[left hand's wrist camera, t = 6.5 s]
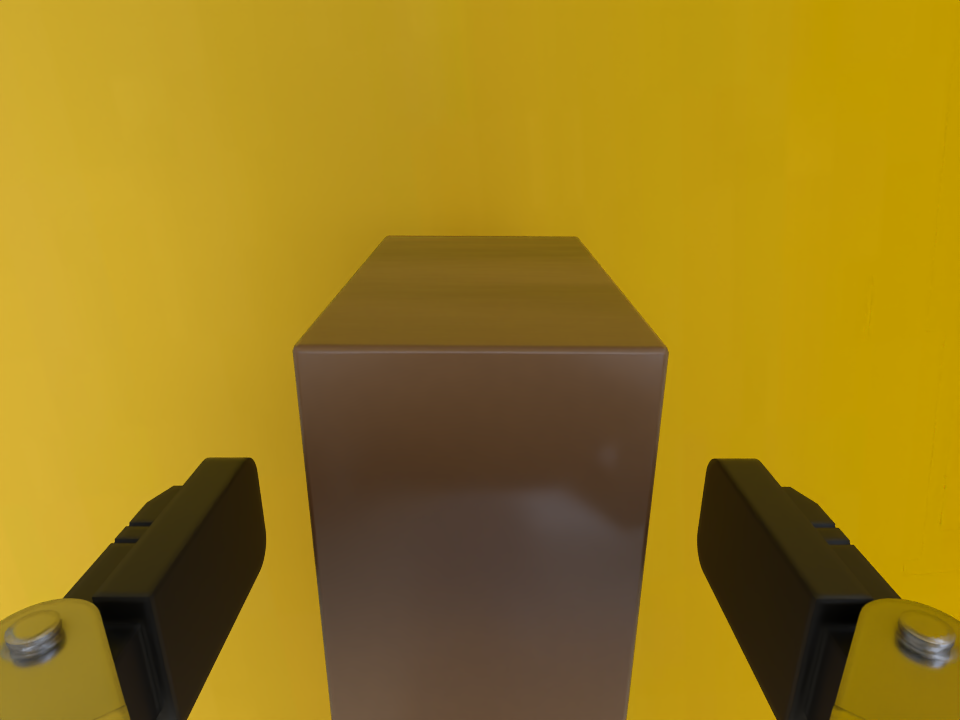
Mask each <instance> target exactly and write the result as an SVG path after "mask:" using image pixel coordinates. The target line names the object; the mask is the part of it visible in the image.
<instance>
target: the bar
mask: <svg viewBox="0 0 960 720" xmlns="http://www.w3.org/2000/svg"><path fill="white" fill-rule="evenodd" d="M668 354H669V352H668V349H667V347H666V346H665V345H664V343H663V342H662V341H661V340H660V338H659V337H658V336H657V335H656V333H655V332H654V331H653V330H652V329H651V327H650V326H649V325H648V324H647V322H646V321H645V320H644V319H643V317H642V316H641V315H640V314H639V313H638V311H637V310H636V309H635V308H634V306H633V305H632V304H631V303H630V301H629V300H628V299H627V298H626V296H625V295H624V294H623V293H622V292H621V290H620V289H619V288H618V287H617V285H616V284H615V283H614V282H613V280H612V279H611V278H610V277H609V276H608V274H607V273H606V272H605V271H604V269H603V268H602V267H601V266H600V264H599V263H598V262H597V261H596V259H595V258H594V257H593V256H592V255H591V253H590V252H589V251H588V250H587V248H586V247H585V246H584V245H583V243H582V242H581V241H580V240H579V238H577V237H536V236H387V237H385V239H384V240H383V241H382V242H381V243H380V244H379V246H378V247H377V248H376V249H375V250H374V252H373V253H372V254H371V255H370V256H369V258H368V259H367V260H366V261H365V262H364V263H363V265H362V266H361V267H360V268H359V269H358V271H357V272H356V273H355V274H354V275H353V277H352V278H351V279H350V280H349V281H348V283H347V284H346V285H345V286H344V287H343V288H342V290H341V291H340V292H339V293H338V294H337V296H336V297H335V298H334V299H333V300H332V302H331V303H330V304H329V305H328V306H327V307H326V309H325V310H324V311H323V312H322V313H321V315H320V316H319V317H318V318H317V319H316V321H315V322H314V323H313V324H312V325H311V326H310V328H309V329H308V330H307V331H306V332H305V334H304V335H303V336H302V337H301V338H300V340H299V341H298V342H297V343H296V344H295V346H294V348H293V359H294V368H295V377H296V387H297V396H298V406H299V415H300V425H301V434H302V444H303V453H304V462H305V472H306V481H307V491H308V500H309V510H310V519H311V529H312V538H313V547H314V557H315V566H316V576H317V585H318V595H319V604H320V614H321V623H322V632H323V642H324V651H325V661H326V670H327V680H328V689H329V699H330V708H331V718H332V720H626V718H627V709H628V701H629V692H630V683H631V675H632V666H633V657H634V649H635V640H636V631H637V623H638V614H639V606H640V597H641V588H642V580H643V571H644V562H645V554H646V545H647V536H648V528H649V519H650V510H651V502H652V493H653V484H654V476H655V467H656V458H657V450H658V441H659V432H660V424H661V415H662V406H663V398H664V389H665V380H666V372H667V363H668Z"/></svg>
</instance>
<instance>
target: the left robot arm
mask: <svg viewBox="0 0 960 720" xmlns="http://www.w3.org/2000/svg"><path fill="white" fill-rule="evenodd" d="M129 523H130V524H129V526H126V527H125V528H124V529H123V530H122V532H121V533H120V534H119V535H118V536H117V537H116V538H115V543H111V544H110V545H109V546H108V547H107V549H106V550H105V551H104V552H103V553H102V554H101V555H100V557H99V558H98V559H97V560H96V561H95V562H94V563H93V565H92V566H91V567H90V568H89V569H88V570H87V571H86V573H85V574H84V575H83V576H82V577H81V578H80V579H79V581H78V582H77V583H76V584H75V585H74V586H73V587H72V589H71V590H70V591H69V592H68V593H67V594H66V595H65V597H64V598H63V599H56V600H51V601H46V602H42V603H39V604H36V605H33V606H30V607H28V608H25V609H23V610H20V611H18V612H16V613H14V614H12V615H10V616H8V617H7V618H5V619H3V620H2V621H0V720H187V718H188V716H189V714H190V712H191V710H192V708H193V706H194V704H195V702H196V700H197V698H198V696H199V694H200V692H201V690H202V688H203V686H204V684H205V682H206V680H207V678H208V676H209V674H210V672H211V669H212V667H213V665H214V663H215V661H216V659H217V657H218V655H219V653H220V651H221V649H222V647H223V645H224V643H225V641H226V639H227V637H228V635H229V633H230V631H231V629H232V627H233V625H234V623H235V621H236V619H237V617H238V615H239V612H240V610H241V608H242V606H243V604H244V602H245V600H246V598H247V596H248V594H249V592H250V590H251V588H252V586H253V584H254V582H255V580H256V578H257V576H258V574H259V572H260V570H261V567H262V564H263V561H264V556H265V549H266V530H265V523H264V516H263V509H262V502H261V494H260V487H259V480H258V473H257V468H256V464H255V462H254V460H253V459H252V458H206V459H205V460H204V461H203V462H202V463H201V464H200V465H199V467H198V468H197V469H196V470H195V471H194V473H193V474H192V475H191V476H190V478H189V479H188V480H187V481H186V482H185V484H184V485H183V486H173V487H171V488H169V489H168V490H166V491H165V492H163V493H161V494H160V495H158V496H157V497H155V498H153V499H152V500H150V501H149V502H147V503H146V504H145V505H144V506H143V508H142V509H141V510H140V511H139V512H138V513H137V514H136V516H135V517H134V518H133V519H132V520H131V521H130V522H129ZM697 548H698V556H699V561H700V564H701V567H702V570H703V572H704V574H705V576H706V578H707V580H708V582H709V584H710V586H711V588H712V590H713V592H714V594H715V596H716V598H717V600H718V603H719V605H720V607H721V609H722V611H723V613H724V615H725V617H726V619H727V621H728V623H729V625H730V627H731V629H732V631H733V633H734V635H735V637H736V639H737V641H738V643H739V645H740V647H741V649H742V651H743V653H744V655H745V657H746V659H747V661H748V663H749V665H750V667H751V669H752V671H753V673H754V675H755V677H756V679H757V681H758V683H759V685H760V687H761V689H762V691H763V693H764V695H765V697H766V699H767V701H768V703H769V705H770V707H771V709H772V711H773V713H774V715H775V717H776V719H777V720H960V621H958V620H957V619H955V618H953V617H952V616H950V615H948V614H946V613H944V612H942V611H940V610H937V609H935V608H932V607H930V606H927V605H924V604H921V603H918V602H914V601H909V600H904V599H901V598H900V597H899V596H898V594H897V593H896V592H895V591H894V590H893V589H892V588H891V587H890V585H889V584H888V583H887V582H886V581H885V580H884V579H883V578H882V576H881V575H880V574H879V573H878V572H877V571H876V570H875V569H874V567H873V566H872V565H871V564H870V563H869V562H868V561H867V559H866V558H865V557H864V556H863V555H862V554H861V553H860V552H859V550H858V549H857V548H856V547H855V546H854V545H850V540H849V539H848V538H847V537H846V536H845V535H844V533H843V532H842V531H841V530H840V529H839V528H835V523H834V522H833V521H832V520H831V519H830V518H829V517H828V515H827V514H826V513H825V512H824V511H823V510H822V509H821V508H820V506H819V505H818V504H817V503H815V502H813V501H812V500H810V499H809V498H807V497H805V496H804V495H802V494H801V493H799V492H797V491H796V490H794V489H793V488H791V487H781V486H780V485H779V484H778V482H777V481H776V480H775V479H774V477H773V476H772V475H771V474H770V473H769V471H768V470H767V469H766V468H765V467H764V465H763V464H762V463H761V462H760V461H759V460H757V459H712V460H711V461H710V462H709V464H708V467H707V471H706V477H705V484H704V491H703V498H702V505H701V512H700V519H699V526H698V534H697Z"/></svg>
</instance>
